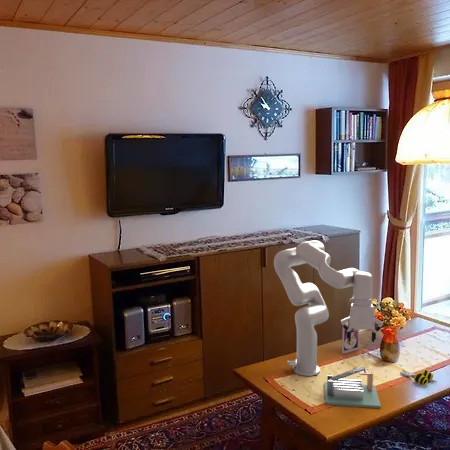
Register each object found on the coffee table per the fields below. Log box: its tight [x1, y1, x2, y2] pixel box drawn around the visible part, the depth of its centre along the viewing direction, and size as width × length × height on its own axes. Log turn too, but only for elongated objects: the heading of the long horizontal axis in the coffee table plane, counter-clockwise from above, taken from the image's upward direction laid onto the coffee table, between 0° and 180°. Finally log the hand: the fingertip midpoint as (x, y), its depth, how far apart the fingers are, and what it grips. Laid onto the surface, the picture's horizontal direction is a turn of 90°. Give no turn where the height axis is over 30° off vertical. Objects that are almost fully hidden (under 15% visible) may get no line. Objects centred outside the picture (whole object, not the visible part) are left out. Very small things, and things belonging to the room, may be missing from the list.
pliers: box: [399, 369, 438, 389], centre depth 231 cm, size 10×2×15 cm
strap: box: [329, 365, 367, 381], centre depth 215 cm, size 16×3×2 cm, turn 80°
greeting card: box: [341, 321, 361, 354], centre depth 263 cm, size 11×7×15 cm, turn 118°
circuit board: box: [323, 381, 381, 409], centre depth 216 cm, size 22×18×1 cm
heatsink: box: [326, 374, 363, 400], centre depth 216 cm, size 14×10×6 cm
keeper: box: [358, 369, 374, 390], centre depth 220 cm, size 6×4×7 cm
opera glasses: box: [413, 368, 435, 387], centre depth 228 cm, size 10×5×5 cm, turn 133°
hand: (361, 340), depth 213 cm, fingers open, 9 cm apart
